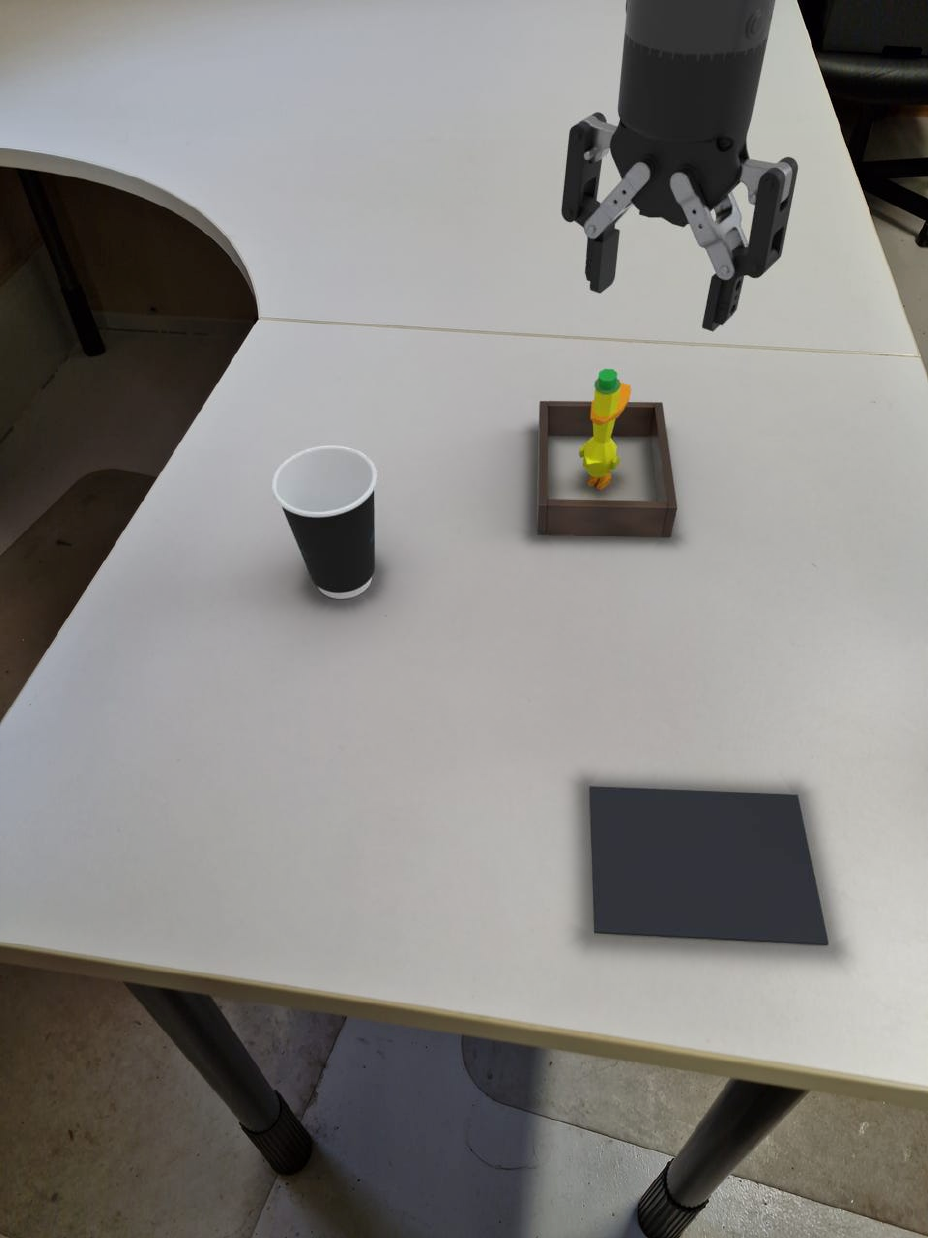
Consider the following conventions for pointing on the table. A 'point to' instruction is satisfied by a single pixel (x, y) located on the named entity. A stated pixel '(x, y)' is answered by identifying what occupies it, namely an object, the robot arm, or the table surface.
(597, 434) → the toy figure
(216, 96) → the table surface
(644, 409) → the tray box
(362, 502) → the dixie cup
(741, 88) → the robot arm
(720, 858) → the rubber pad
